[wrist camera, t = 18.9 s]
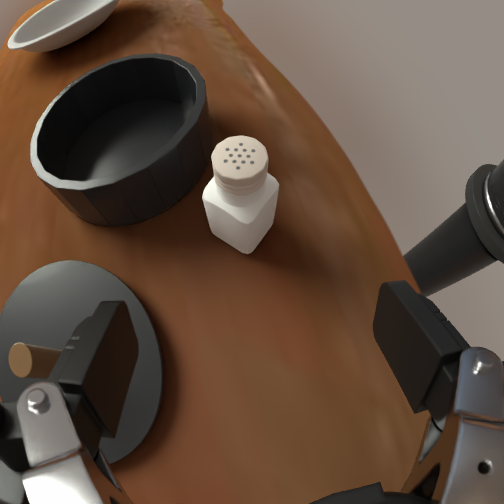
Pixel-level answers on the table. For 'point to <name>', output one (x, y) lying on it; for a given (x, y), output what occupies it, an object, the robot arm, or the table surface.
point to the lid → (59, 332)
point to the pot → (125, 139)
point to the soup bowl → (60, 24)
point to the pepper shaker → (240, 193)
